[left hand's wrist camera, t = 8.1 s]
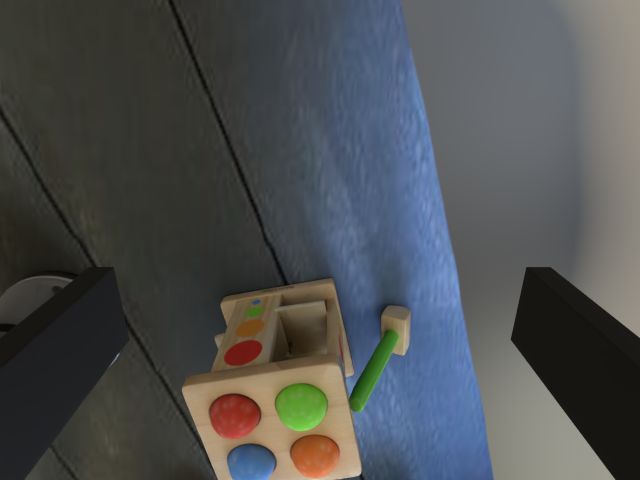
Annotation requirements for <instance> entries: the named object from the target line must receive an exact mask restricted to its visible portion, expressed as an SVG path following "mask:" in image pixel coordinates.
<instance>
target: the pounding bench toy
mask: <svg viewBox="0 0 640 480" xmlns="http://www.w3.org/2000/svg"><path fill="white" fill-rule="evenodd" d="M221 309H222V312H223V315H224V318H225V321H226V324H227V329H226V332H225V333H223V334H219V335H216V336H215V341H216V344H217V347H218V353H217V356H216V358H215V361H214V364H213V367H212V369H211V372H208V373H202V374H197V375H192V376H189V377H187V379H186V381H185V383H184V385H183V387H182V392H183V395H184V398H185V401H186V403H187V406H188V408H189V410H190V413H191V415H192V418H193V420H194V422H195V425H196V427H197V430H198V432H199V434H200V437H201V439H202V441H203V444H204V446H205V449H206V451H207V454H208V456H209V459H210V461H211V464H212V466H213V468H214V471H215V473H216V476H217V478H218V480H335V479H342V478H349V477H355V476H358V475H360V474H361V471H362V467H361V458H360V451H359V447H358V442H357V437H356V432H355V428H354V416H353V412H352V410H353V411H355V412H360V411H362V410H363V408H364V406H365V404H366V402H367V400H368V398H369V396H370V394H371V392H372V391H373V389H374V387H375V385H376V383H377V381H378V379H379V377H380V375H381V373H382V371H383V369H384V367H385V365H386V363H387V361H388V359H389V357H390V356H391V354H392V353H395V354H399V355H405V353H406V351H407V349H408V346H409V342H410V322H411V311H410V310H409V309H408V308H405V307H402V306H395V305H389V306H387V307H386V309H385V310H384V312H383V313H382V315H381V341H380V343H379V344H378V346H377V348H376V350H375V351H374V353H373V355H372V357H371V358H370V360H369V362H368V364H367V365H366V367H365V369H364V371H363V372H362V374H361V376H360V378H359V379H358V381H357V383H356V385H355V386H354V388H353V391H352V393H351V396H350V398H349V394H348V390H347V386H346V377H348V376H352V375H353V374H354V370H353V364H352V359H351V354H350V350H349V345H348V341H347V336H346V332H345V327H344V323H343V318H342V314H341V309H340V305H339V301H338V296H337V292H336V287H335V283H334V279H333V278H328V279H321V280H315V281H310V282H304V283H298V284H292V285H287V286H281V287H275V288H269V289H263V290H258V291H252V292H246V293H241V294H235V295H230V296H226V297H224V298H223V300H222V302H221Z"/></svg>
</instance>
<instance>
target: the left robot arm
mask: <svg viewBox="0 0 640 480" xmlns="http://www.w3.org/2000/svg"><path fill="white" fill-rule="evenodd" d="M128 341H129V336H128V332H127V327H126V322H125V318H124V313H123V309H122V304H121V299H120V295H119V290H118V285H117V281H116V276H115V272H114V267H89V268H88V269H87V270H85V271H84V272H83V273H82V274H80V275H79V276H76V275H73V274H69V273H64V272H53V271H51V272H40V273H36V274H33V275H30V276H28V277H25V278H24V279H22V280H20V281H19V282H17V283H16V284H14V285H13V286H11V287H10V288H9V289H8V290H7V291H6V292H5V293H4V294H3V295H2V296H1V298H0V480H25V478H26V477H27V476H28V474H29V473H30V472H31V470H32V469H33V468H34V466H35V465H36V464H37V462H38V461H39V460H40V458H41V457H42V456H43V454H44V453H45V452H46V450H47V449H48V448H49V446H50V445H51V444H52V442H53V441H54V440H55V438H56V437H57V436H58V434H59V433H60V432H61V430H62V429H63V428H64V426H65V425H66V424H67V422H68V421H69V420H70V418H71V417H72V416H73V414H74V413H75V412H76V410H77V409H78V407H79V406H80V405H81V403H82V402H83V401H84V399H85V398H86V397H87V395H88V394H89V393H90V391H91V390H92V389H93V387H94V386H95V385H96V383H97V382H98V381H99V379H100V378H101V377H102V375H103V374H104V373H105V371H106V370H107V369H108V368H109V367H110V366H111V365H112V364H113V363H114V361H115V360H116V359H117V357H118V356H119V355H120V353H121V352H122V350H123V348H124V346H125V345H126V343H127V342H128ZM511 341H512V342H513V343H514V345H515V346H516V347H517V349H518V350H519V351H520V353H521V354H522V355H523V357H524V358H525V359H526V361H527V362H528V363H529V365H530V366H531V367H532V369H533V370H534V371H535V373H536V374H537V375H538V377H539V378H540V379H541V381H542V382H543V383H544V385H545V386H546V387H547V389H548V390H549V391H550V393H551V394H552V395H553V397H554V398H555V399H556V401H557V402H558V403H559V405H560V406H561V407H562V409H563V410H564V411H565V413H566V414H567V416H568V417H569V418H570V420H571V421H572V422H573V423H574V425H575V426H576V428H577V429H578V430H579V432H580V433H581V434H582V436H583V437H584V438H585V439H586V441H587V442H588V444H589V445H590V446H591V448H592V449H593V450H594V452H595V453H596V454H597V456H598V457H599V458H600V460H601V461H602V462H603V464H604V465H605V466H606V468H607V469H608V470H609V472H610V473H611V474H612V476H613V477H614V478H615V480H640V338H639V337H638V336H636V335H635V334H634V333H633V332H632V331H630V330H629V329H628V328H626V327H625V326H624V325H623V324H621V323H620V322H619V321H618V320H616V319H615V318H614V317H613V316H611V315H610V314H609V313H608V312H606V311H605V310H604V309H603V308H601V307H600V306H599V305H598V304H596V303H595V302H594V301H592V300H591V299H590V298H589V297H587V296H586V295H585V294H584V293H582V292H581V291H580V290H579V289H577V288H576V287H575V286H574V285H572V284H571V283H570V282H569V281H567V280H566V279H565V278H563V277H562V276H561V275H560V274H558V273H557V272H556V271H555V270H553V269H552V268H551V267H527V268H526V272H525V276H524V281H523V286H522V290H521V295H520V299H519V304H518V309H517V313H516V318H515V323H514V327H513V332H512V336H511Z"/></svg>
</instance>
